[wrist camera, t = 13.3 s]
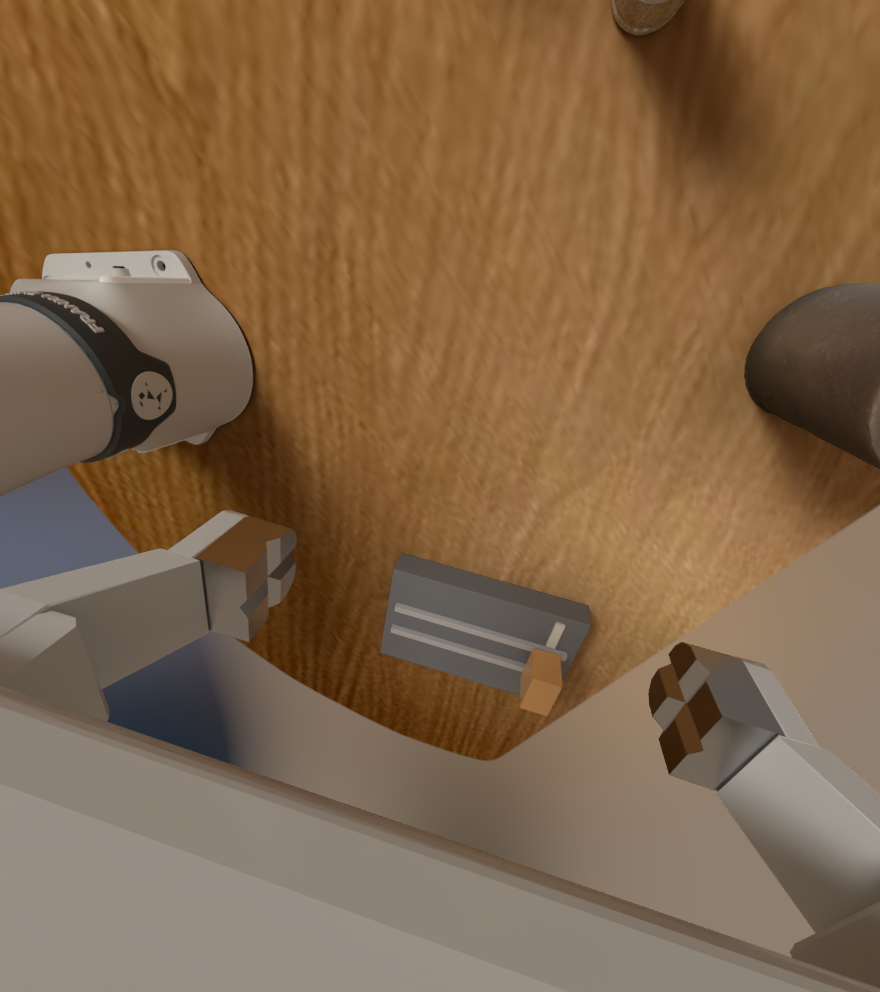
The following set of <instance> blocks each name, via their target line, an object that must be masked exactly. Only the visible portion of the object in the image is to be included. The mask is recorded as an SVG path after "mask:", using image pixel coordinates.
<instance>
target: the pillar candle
mask: <svg viewBox="0 0 880 992" xmlns="http://www.w3.org/2000/svg"><path fill="white" fill-rule="evenodd" d="M745 379H746V381H745V382H746V386H747V389H748V391H749V394H750V396H751V397H752V398H753V400H754V401H755V402H756V404H757V405H759V406H760V407H761V408H762V409H764V410H765V411H767V412H771V413H773V414H776V415H777V416H779V417H781V418H782V419H783V420H786V421H787V422H790V423H792V424H794V425H797V426H799V427H801V428H803V429H805V430H807V431H809V432H811V433H812V434H814V435H816V436H817V437H819V438H820V439H822V440H824V441H826V442H828V443H831V444H833V445H835V446H837V447H839V448H841V449H843V450H844V451H847V452H848V453H850V454H852V455H854V456H856V457H857V458H859V459H861V460H863V461H865V462H867V463H869V464H871V465H873V466H875V467H877V468H879V469H880V284H867V283H863V284H844V285H838V286H834V287H826V288H822V289H819V290H817V291H814V292H812V293H809V294H807V295H805V296H803V297H801V298H799V299H797V300H795V301H794V302H792V303H791V304H790V305H788V306H786V307H785V308H784V309H782V310H781V311H780V312H779V313H777V314H776V315H775V316H774V317H773V318H772V319H771V320H770V321H769V322H768V323H767V325H766V326H765V327H764V328H763V330H762V331H761V332H760V334H759V335H758V336H757V338H756V339H755V341H754V343H753V345H752V346H751V349H750V351H749V353H748V356H747V359H746V364H745Z"/></svg>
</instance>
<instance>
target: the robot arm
mask: <svg viewBox="0 0 880 992" xmlns="http://www.w3.org/2000/svg"><path fill="white" fill-rule="evenodd" d="M163 263H164V264H165V267H166V268H164V266H163ZM252 386H253V368H252V361H251V356H250V353H249V349H248V346H247V344H246V341H245V339H244V337H243V334H242V332H241V330H240V329H239V327H238V325H237V323H236V322H235V320H234V319H233V317H232V316H231V315H230V313H229V312H228V311H227V310H226V308H225V307H224V306H223V305H222V304H221V303H220V302H219V301H218V300H217V299H216V298H215V297H214V296H213V295H212V294H211V293H210V292H209V291H208V290H207V289H206V288H205V287H204V286H203V284H202V283H201V281H200V279H199V277H198V275H197V274H196V272H195V270H194V268H193V267H192V265H191V263H190V262H189V261H188V259H187V258H186V257H185V256H184V255H183V254H182V253H181V252H179V251H177V250H157V251H125V252H92V253H63V254H50V255H47V256H46V258H45V262H44V266H43V273H42V279H17V280H16V281H15V282H14V283H13V285H12V287H11V290H10V293H8V294H5V295H1V296H0V497H1V496H4V495H6V494H8V493H10V492H12V491H14V490H16V489H18V488H20V487H23V486H25V485H27V484H29V483H31V482H33V481H36V480H38V479H40V478H42V477H45V476H47V475H49V474H51V473H54V472H56V471H58V470H61V469H63V468H66V467H68V466H71V465H73V464H76V463H78V462H95V461H98V460H102V459H106V458H111V457H114V456H117V455H120V454H122V453H124V452H126V451H128V450H129V449H132V450H136V451H137V452H138V453H146V452H150V451H153V450H156V449H160V448H163V447H166V446H169V445H172V444H175V443H178V442H181V441H184V440H185V441H187V442H189V443H191V444H194V445H198V444H202V443H205V442H207V441H208V440H209V439H210V438H211V436H212V435H213V433H214V431H215V430H216V429H217V428H218V427H219V426H221V425H224V424H226V423H228V422H230V421H232V420H234V419H235V418H236V417H238V416H239V415H240V414H241V413H242V411H243V410H244V409H245V407H246V405H247V403H248V401H249V399H250V396H251V392H252ZM296 546H297V541H296V532H295V531H294V530H293V529H291V528H287V527H284V526H281V525H278V524H275V523H272V522H268V521H265V520H262V519H259V518H256V517H252V516H248V515H245V514H242V513H238V512H235V511H232V510H225V511H222V512H220V513H219V514H217V515H216V516H215V517H213V518H212V519H211V520H209V521H208V522H206V523H205V524H204V525H202V526H201V527H199V528H198V529H197V530H195V531H194V532H193V533H191V534H190V535H188V536H187V537H186V538H184V539H183V540H181V541H180V542H179V543H177V544H176V545H174V546H173V547H172V548H170V549H169V550H168V551H167V550H164V549H156V550H152V551H148V552H144V553H141V554H137V555H133V556H129V557H125V558H121V559H117V560H113V561H109V562H105V563H101V564H97V565H93V566H89V567H86V568H82V569H78V570H74V571H70V572H66V573H62V574H58V575H54V576H50V577H46V578H42V579H38V580H34V581H31V582H26V583H22V584H18V585H15V586H11V587H7V588H3V589H0V992H880V794H879V793H878V792H876V791H875V790H874V789H873V788H872V787H870V785H868V784H867V783H866V782H865V781H864V780H863V779H862V778H860V777H859V776H858V775H857V774H856V773H855V772H854V771H852V770H851V769H850V768H849V767H848V766H847V765H846V764H844V763H843V762H842V761H841V760H840V759H839V758H837V757H836V756H835V755H834V754H833V753H832V752H831V751H829V750H826V749H823V748H820V746H819V745H818V743H817V742H816V740H815V739H814V737H813V736H812V734H811V732H810V731H809V729H808V728H807V726H806V724H805V723H804V721H803V720H802V718H801V716H800V715H799V713H798V712H797V710H796V709H795V707H794V705H793V704H792V703H791V701H790V699H789V697H788V696H787V694H786V693H785V691H784V690H783V688H782V686H781V685H780V683H779V682H778V680H777V678H776V677H775V675H774V674H773V672H772V671H771V670H770V669H769V668H768V667H766V666H765V665H764V664H762V663H758V662H754V661H750V660H747V659H743V658H739V657H733V656H730V655H726V654H723V653H719V652H715V651H712V650H709V649H705V648H701V647H698V646H694V645H691V644H687V643H684V642H681V643H679V644H677V645H676V646H675V647H674V648H673V649H672V651H671V652H670V653H669V657H670V661H671V664H669V665H667V666H664V667H662V668H659V669H658V670H657V672H656V673H655V675H654V677H653V678H652V680H651V684H650V689H649V705H650V709H651V713H652V717H653V718H654V719H655V720H656V721H657V723H658V724H659V725H660V726H661V727H662V729H663V732H662V734H661V736H660V738H659V741H660V745H661V748H662V752H663V755H664V759H665V762H666V765H667V769H668V773H669V775H671V776H674V777H677V778H680V779H683V780H686V781H689V782H691V783H694V784H697V785H700V786H703V787H706V788H709V789H711V790H714V791H717V793H716V794H717V796H718V797H719V798H720V800H721V801H722V803H723V804H724V805H725V807H726V808H727V810H728V811H729V812H730V814H731V815H732V817H733V818H734V819H735V821H736V822H737V823H738V825H739V826H740V828H741V829H742V831H743V832H744V833H745V835H746V836H747V837H748V839H749V841H750V842H751V843H752V845H753V846H754V848H755V849H756V850H757V852H758V853H759V855H760V856H761V857H762V859H763V860H764V861H765V863H766V864H767V866H768V867H769V869H770V870H771V871H772V873H773V874H774V876H775V877H776V878H777V880H778V881H779V883H780V884H781V885H782V887H783V888H784V890H785V891H786V892H787V894H788V895H789V897H790V898H791V899H792V901H793V902H794V904H795V905H796V906H797V908H798V909H799V911H800V912H801V913H802V915H803V916H804V917H805V919H806V920H807V922H808V923H809V925H810V926H811V927H812V929H813V930H814V932H815V934H814V935H811V936H810V937H808V938H806V939H803V940H801V941H799V942H798V943H795V944H794V946H793V948H792V949H791V951H790V953H791V956H792V958H791V957H788V956H785V955H782V954H779V953H776V952H774V951H771V950H767V949H765V948H762V947H759V946H756V945H753V944H750V943H747V942H745V941H742V940H739V939H736V938H733V937H730V936H727V935H724V934H721V933H718V932H716V931H713V930H710V929H706V928H704V927H701V926H698V925H695V924H692V923H689V922H687V921H684V920H681V919H678V918H675V917H672V916H669V915H666V914H663V913H660V912H658V911H655V910H652V909H649V908H646V907H643V906H640V905H637V904H634V903H631V902H629V901H625V900H623V899H620V898H617V897H614V896H611V895H608V894H605V893H603V892H599V891H597V890H594V889H591V888H588V887H585V886H582V885H579V884H576V883H574V882H571V881H568V880H565V879H562V878H559V877H556V876H553V875H550V874H547V873H545V872H542V871H539V870H536V869H533V868H530V867H527V866H524V865H521V864H518V863H515V862H513V861H509V860H507V859H504V858H501V857H498V856H495V855H492V854H489V853H487V852H483V851H481V850H478V849H475V848H472V847H469V846H466V845H463V844H460V843H457V842H455V841H452V840H449V839H446V838H443V837H440V836H437V835H434V834H431V833H428V832H425V831H423V830H420V829H417V828H413V827H411V826H408V825H405V824H402V823H399V822H396V821H393V820H390V819H388V818H385V817H382V816H379V815H376V814H373V813H370V812H367V811H364V810H361V809H359V808H356V807H353V806H350V805H347V804H344V803H341V802H338V801H335V800H332V799H329V798H327V797H323V796H321V795H318V794H315V793H312V792H309V791H306V790H303V789H300V788H297V787H294V786H292V785H289V784H286V783H283V782H280V781H277V780H274V779H271V778H268V777H266V776H262V775H260V774H257V773H254V772H251V771H248V770H245V769H242V768H239V767H236V766H233V765H231V764H228V763H225V762H222V761H219V760H216V759H213V758H210V757H207V756H204V755H201V754H199V753H196V752H193V751H190V750H187V749H184V748H181V747H178V746H175V745H172V744H170V743H167V742H163V741H161V740H158V739H155V738H152V737H149V736H146V735H143V734H140V733H138V732H134V731H132V730H129V729H126V728H123V727H120V726H117V725H114V724H111V723H108V722H106V721H107V720H108V718H109V709H108V706H107V703H106V700H105V697H104V695H103V692H102V689H103V688H105V687H107V686H108V685H111V684H112V683H114V682H116V681H118V680H120V679H122V678H124V677H126V676H128V675H130V674H131V673H134V672H135V671H137V670H139V669H141V668H143V667H145V666H147V665H149V664H151V663H153V662H155V661H156V660H158V659H160V658H162V657H164V656H166V655H168V654H170V653H172V652H174V651H176V650H178V649H179V648H181V647H183V646H185V645H187V644H189V643H191V642H193V641H195V640H197V639H199V638H200V637H202V636H204V635H206V634H208V633H209V631H213V632H216V633H220V634H223V635H226V636H230V637H233V638H237V639H240V640H244V641H247V642H250V640H251V639H252V638H253V637H254V635H255V634H256V633H257V632H258V630H259V629H260V628H261V627H262V625H263V624H264V623H265V622H266V620H267V619H268V608H269V607H272V606H274V605H276V604H279V603H281V601H282V600H283V599H284V597H285V596H286V595H287V593H288V592H289V589H290V587H291V585H292V583H293V581H294V577H295V572H296V561H295V559H294V557H293V556H292V554H291V553H290V552H291V551H292V550H293V549H294V548H295V547H296Z"/></svg>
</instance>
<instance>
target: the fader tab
mask: <svg viewBox="0 0 880 992" xmlns="http://www.w3.org/2000/svg"><path fill="white" fill-rule="evenodd" d="M561 689H562V674H561V660H560V655H556V654H553V653H550V652H546V651H543V650H539V649H536V648H533V649H532V652H531V654H530V656H529V659H528V661H527V663H526V665H525V668H524V670H523V672H522V675H521V681H520V708H522V709H525V710H528V711H531V712H535V713H538V714H541V715H544V716H548V714H549V712H550V710H551V708H552V706H553V704H554V702H555V700H556V699H557V697H558V695H559V693H560V691H561Z"/></svg>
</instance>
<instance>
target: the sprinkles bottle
mask: <svg viewBox="0 0 880 992" xmlns="http://www.w3.org/2000/svg"><path fill="white" fill-rule="evenodd" d="M684 1H685V0H611V8H612V11H613V14H614V18H615V21H616V22H617V23H618V25H619V26H620V27H621V28H622V29H624V30H625V31H626V32H627V33H631V34H633V35H637V36H639V35H646V34H649V33H651V32H654V31H657V30H658V29H660V28H661V27H663V26H664V25H665V24H666V23H668V22H669V21H670V20H671V19H672V18H673V16H674V15H675V14H676V12H677V11H678V9H679V8H680V7H681V6H682V4H683V2H684Z"/></svg>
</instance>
